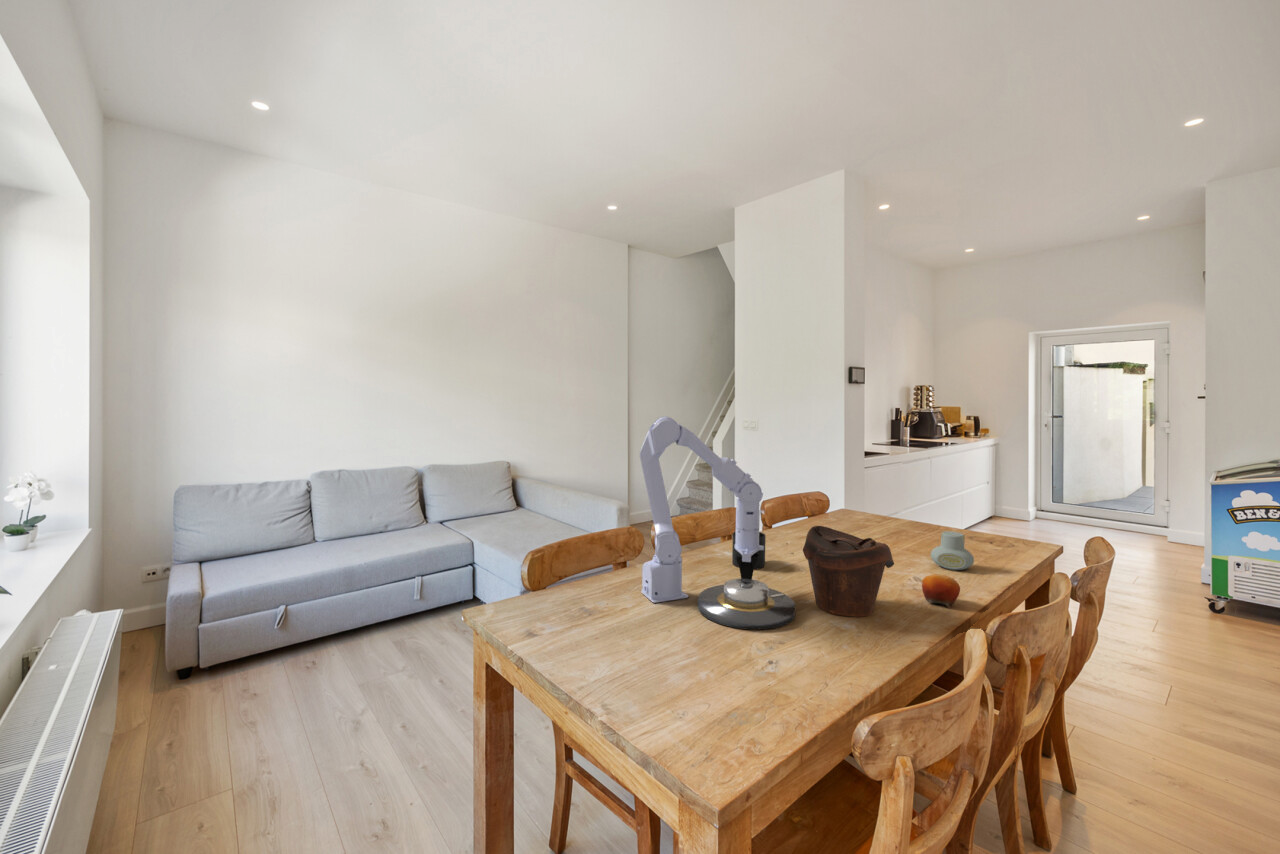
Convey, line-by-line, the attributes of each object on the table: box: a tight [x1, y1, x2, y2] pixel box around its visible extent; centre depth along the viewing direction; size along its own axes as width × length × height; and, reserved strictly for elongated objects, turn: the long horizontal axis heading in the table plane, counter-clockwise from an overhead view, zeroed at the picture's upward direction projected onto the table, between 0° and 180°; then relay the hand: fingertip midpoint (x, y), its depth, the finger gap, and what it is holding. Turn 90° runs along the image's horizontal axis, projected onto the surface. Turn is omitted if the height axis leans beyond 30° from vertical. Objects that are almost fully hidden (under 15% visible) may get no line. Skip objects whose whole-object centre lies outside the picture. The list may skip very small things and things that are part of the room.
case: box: [802, 525, 895, 618], centre depth 126 cm, size 18×20×18 cm
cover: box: [723, 578, 769, 610], centre depth 124 cm, size 10×10×4 cm
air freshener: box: [930, 530, 975, 571], centre depth 157 cm, size 11×8×10 cm
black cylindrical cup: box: [731, 531, 767, 570], centre depth 159 cm, size 9×12×9 cm
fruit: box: [921, 573, 961, 609], centre depth 130 cm, size 8×8×8 cm
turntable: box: [697, 584, 796, 630], centre depth 125 cm, size 22×22×2 cm
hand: (746, 582), depth 133 cm, fingers closed
